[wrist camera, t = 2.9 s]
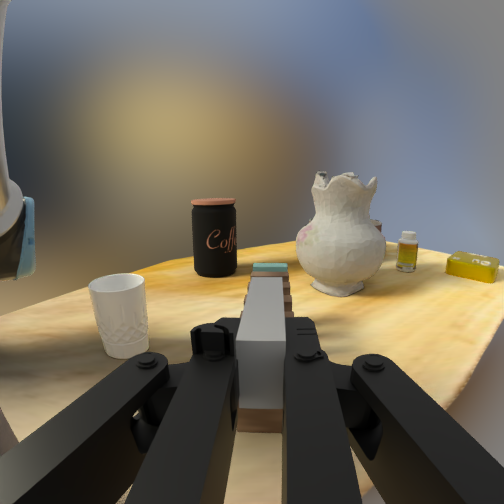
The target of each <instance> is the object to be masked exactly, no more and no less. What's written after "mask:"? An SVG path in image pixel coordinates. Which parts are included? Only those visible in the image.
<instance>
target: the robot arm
mask: <svg viewBox="0 0 504 504" xmlns="http://www.w3.org/2000/svg"><path fill="white" fill-rule="evenodd" d="M10 1H11V0H0V282H1V281H8V280H17V279H18V278H22V277H26V276H30V275H31V274H33V272H34V271H35V268H36V260H35V240H34V200H33V199H32V198H28V197H23V196H22V192H21V190H20V188H19V186H18V185H17V184H16V183H15V182H13V181H12V180H10V179H9V176H8V169H7V161H6V154H5V146H4V135H3V122H2V101H1V67H2V48H3V36H4V26H5V17H6V11H7V6H8V4H9V3H10ZM190 333H191V342H192V351H193V355H192V357H191V359H190V361H189V362H186V363H180V364H171V365H168V361H167V358H166V357H165V356H164V355H162V354H159V353H153V352H144V353H141V354H137V355H135V356H133V357H131V358H130V359H129V360H127V361H126V362H125V363H123V364H122V365H121V366H119V367H118V368H117V369H116V370H114V371H113V372H112V373H110V374H109V375H108V376H106V377H105V378H104V379H103V380H101V381H100V382H99V383H97V384H96V385H95V386H93V387H92V388H91V389H89V390H88V391H87V392H86V393H84V394H83V395H82V396H80V397H79V398H78V399H76V400H75V401H74V402H72V403H71V404H70V405H69V406H67V407H66V408H65V409H63V410H62V411H61V412H59V413H58V414H57V415H55V416H54V417H53V418H51V419H50V420H49V421H47V422H46V423H45V424H44V425H42V426H41V427H40V428H38V429H37V430H36V431H34V432H33V433H32V434H30V435H29V436H28V437H26V438H25V439H24V440H22V441H21V442H20V443H18V444H17V445H16V446H14V447H13V448H12V449H10V450H9V451H8V452H6V453H5V454H4V455H2V456H1V457H0V504H115V503H116V502H117V501H118V500H119V499H120V498H121V497H122V495H123V494H124V493H125V492H126V491H127V490H128V488H129V487H130V486H131V485H132V484H133V485H132V487H131V490H130V492H129V494H128V496H127V498H126V501H125V503H124V504H223V503H224V498H225V492H226V486H227V480H228V475H229V469H230V463H231V457H232V451H233V445H234V440H235V434H236V428H237V422H238V408H237V407H238V401H239V408H251V409H283V414H282V504H362V499H361V494H360V489H359V484H358V480H357V475H356V470H355V466H354V461H353V457H352V452H351V448H352V449H353V451H354V453H355V454H356V456H357V458H358V459H359V461H360V462H361V464H362V466H363V467H364V469H365V471H366V472H367V474H368V476H369V477H370V479H371V481H372V482H373V484H374V485H375V487H376V489H377V490H378V492H379V494H380V495H381V497H382V498H383V500H384V501H385V503H386V504H504V468H503V467H502V466H501V465H500V464H499V463H498V462H497V461H496V460H495V459H494V458H493V457H492V456H491V455H490V454H489V453H488V452H487V451H486V450H485V449H484V448H483V447H482V446H481V445H480V444H479V443H478V442H477V441H476V440H475V439H474V438H473V437H472V436H471V435H470V434H469V433H467V432H466V430H465V429H464V428H462V427H461V426H460V425H459V424H458V423H457V422H456V421H455V420H454V419H453V418H452V417H451V416H450V415H449V414H448V413H447V412H446V411H445V410H444V409H443V408H442V407H441V406H440V405H438V404H437V403H436V402H435V401H434V400H433V399H432V398H431V397H430V396H429V395H428V394H427V393H426V392H425V391H424V390H423V389H422V388H421V387H419V386H418V385H417V384H416V383H415V382H414V381H413V380H412V379H411V378H410V377H409V376H408V375H407V374H406V373H405V372H404V371H402V370H401V369H400V368H399V367H398V366H397V365H396V364H395V363H394V362H393V361H392V360H390V359H389V358H387V357H385V356H382V355H379V354H366V355H362V356H359V357H357V358H356V359H354V360H353V364H352V366H347V365H340V364H336V363H333V362H331V361H329V359H328V356H327V354H326V353H325V352H324V351H323V350H321V347H320V343H319V339H318V335H317V331H316V328H315V324H314V322H313V321H312V320H311V319H309V318H308V317H285V315H284V299H283V283H282V277H252V278H251V282H250V286H249V290H248V294H247V298H246V302H245V306H244V310H243V313H242V317H241V318H220V319H219V320H218V321H216V322H215V323H207V324H202V325H199V326H197V327H194V328H193V329H192V330H191V331H190ZM137 410H138V412H139V413H138V414H137V415H136V416H134V417H133V415H134V413H135V412H136V411H137ZM350 446H351V448H350Z"/></svg>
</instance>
